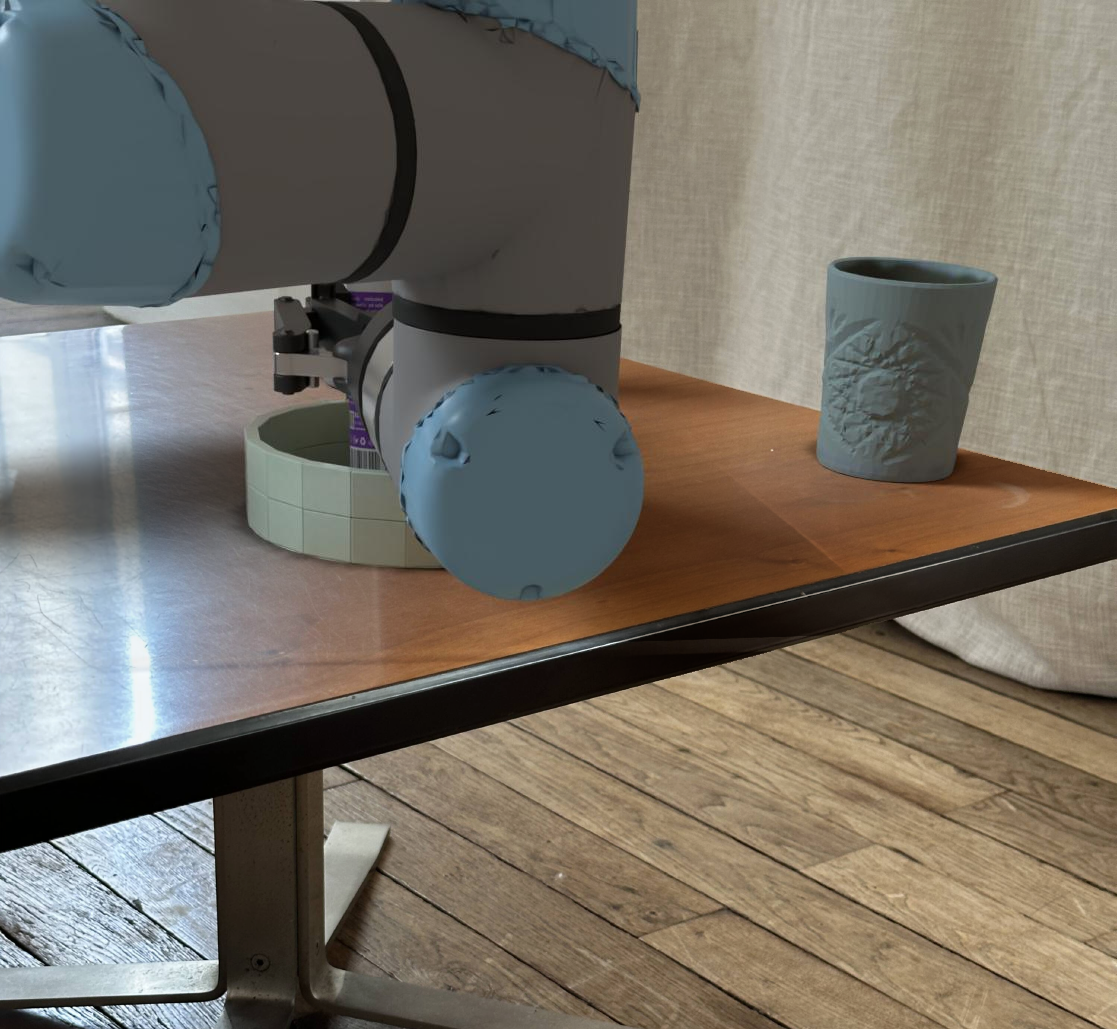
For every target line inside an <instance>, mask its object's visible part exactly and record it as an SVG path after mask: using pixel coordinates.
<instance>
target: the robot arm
mask: <svg viewBox="0 0 1117 1029" xmlns="http://www.w3.org/2000/svg"><path fill="white" fill-rule="evenodd" d="M638 49H639V30H638V0H389V1H347V0H345V1H344V0H343V1H342V0H0V298H2V299H4V300H7V301H10V302H13V303H18V304H22V305H31V306H81V307H85V306H86V307H132V308H139V309H145V308H164V307H169V306H171V305H173V304H175V303H178V302H179V301H181V300H183V299H191V298H198V297H209V296H218V295H227V294H236V293H244V292H253V291H262V290H263V291H265V290H273V289H281V288H289V287H298V286H300V287H301V286H308V285H310V296H307V297H305V298H304V300H305V301H304V302H305V307H303V304H302V302H301V300H300V299H297V298H293V297H292V296H291V295H282V296H279V297H277V298H274V299H273V317H274V318H273V324H274V326H273V328H274V331H272V369H273V370H272V372H273V376H272V377H273V391H274V392H276V393H281V394H282V395H285V396H293V395H295V394H296V393H301V392H303V391H305V389H307V388H308V389H318V388H320V378H323V379H324V378H333V383H334V385H335V386H336V388H335V389H337V390H338V391H339V392H341V393H343V394H345V395H346V394H348V395H351V396H352V399H353V402H354V405H355V408H356V411H357V413H358V416H359V418H360V420H361V422H362V424H363V426H364V428H365V430H366V432H367V434H368V436H369V438H370V439H371V441H372V442H373V444H374V446H375V448H376V450H377V452H378V454H379V456H380V458H381V460H382V462H383V464H384V466H385V468H386V470H387V471H388V473H389V475H390V478H391V479H392V481H393V483H394V485H395V488H396V490H397V492H398V494H399V501H400V506H401V510H402V511H403V512H404V513H405V514H406V515H407V517H406V518H405V520H406V521H407V523H408V525H409V526H410V527H411V528H412V529H413V532H414V535H415V537H416V539H417V540H418V541H419V542H420V544H421V545H422V546H423V547H424V548H425V549H426V550H427V551H429V552H430V553H432V554H433V555H434V556H435V557H436V559H437V560H438V561H439V562H440V563H441V565H442V566H443V567H444V569H445V570H446V571H447V572H448V573H450V575H452V576H453V578H455V579H457V581H459V582H460V583H462V584H464V586H467V587H468V588H470V589H472V590H475V591H477V592H480V593H482V594H483V595H484V594H485V595H487V596H489V597H493V598H496V599H500V600H506V601H517V602H524V603H531V602H534V601H540V600H548V599H553V598H557V597H560V596H563V595H566V594H568V593H570V592H573V591H576V590H577V589H579V588H581V587H583V586H585V585H586V584H588V583H589V582H591V581H593V580H594V579H596V578H598V576H600V574H602V573H603V572H604V571H605V570H606V569H607V568H609V566H610V565H611V564H613V562H614V561H615V560H616V559H617V558H618V557H619V556H620V554H621V553H622V551H623V550H624V548H625V547H626V545H627V544H628V542H629V541H630V539H631V537H632V535H633V533H634V532H635V529H636V527H637V523H638V522H639V519H640V516H641V512H642V508H643V502H644V495H645V469H644V462H643V458H642V453H641V450H640V448H639V445H638V442H637V440H636V437H635V435H634V434H633V432H632V429H633V428H632V426H631V424H630V423H629V421H628V419H627V417H626V416H625V415H624V413H623V412H622V410H620V405H619V402H618V396H619V383H620V380H619V379H620V366H621V351H622V334H623V325H622V322H621V312H622V302H623V288H624V276H625V261H626V248H627V233H628V218H629V204H630V192H631V178H632V165H633V164H632V162H633V150H634V137H635V136H634V135H635V121H636V114H638V113H640V107H641V101H642V96H641V93H640V90H639V88H638V54H639V53H638V51H639V50H638ZM380 281H392V301H391V302H390V303H388V304H387V305H386V306H385V307H383V308H382V309H381V310H380V311H362V310H360V309H358V308H356V307H354V306H351V305H350V293H349V291H348V290H347V289H346V287H345V286H344V284H357V283H368V282H380Z"/></svg>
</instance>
